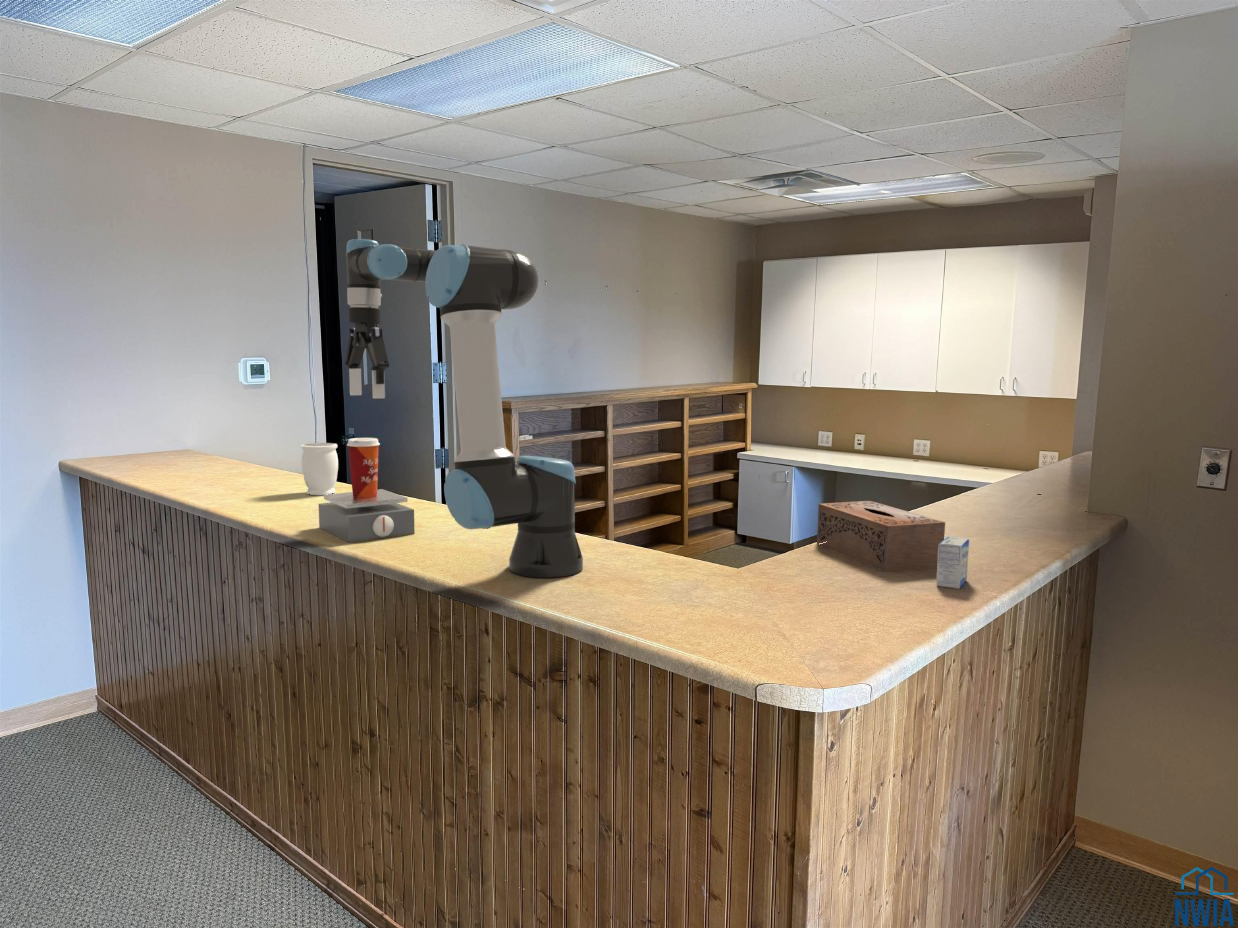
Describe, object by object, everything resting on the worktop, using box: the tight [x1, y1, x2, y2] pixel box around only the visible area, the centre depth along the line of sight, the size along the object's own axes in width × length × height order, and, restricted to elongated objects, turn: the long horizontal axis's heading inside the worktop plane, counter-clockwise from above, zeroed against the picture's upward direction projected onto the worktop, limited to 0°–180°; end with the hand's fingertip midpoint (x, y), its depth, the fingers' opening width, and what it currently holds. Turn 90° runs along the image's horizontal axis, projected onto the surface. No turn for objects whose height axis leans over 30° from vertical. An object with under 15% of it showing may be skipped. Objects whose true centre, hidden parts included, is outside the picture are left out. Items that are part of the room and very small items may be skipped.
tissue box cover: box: [816, 500, 946, 573], centre depth 188 cm, size 26×14×10 cm, turn 20°
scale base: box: [318, 501, 416, 544], centre depth 205 cm, size 21×16×6 cm
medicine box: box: [935, 536, 970, 590], centre depth 166 cm, size 8×4×9 cm, turn 148°
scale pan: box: [323, 488, 409, 509], centre depth 204 cm, size 15×15×2 cm
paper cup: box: [346, 437, 381, 498], centre depth 203 cm, size 8×8×14 cm
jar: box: [300, 442, 339, 496], centre depth 254 cm, size 11×10×15 cm
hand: (367, 397), depth 202 cm, fingers open, 13 cm apart
